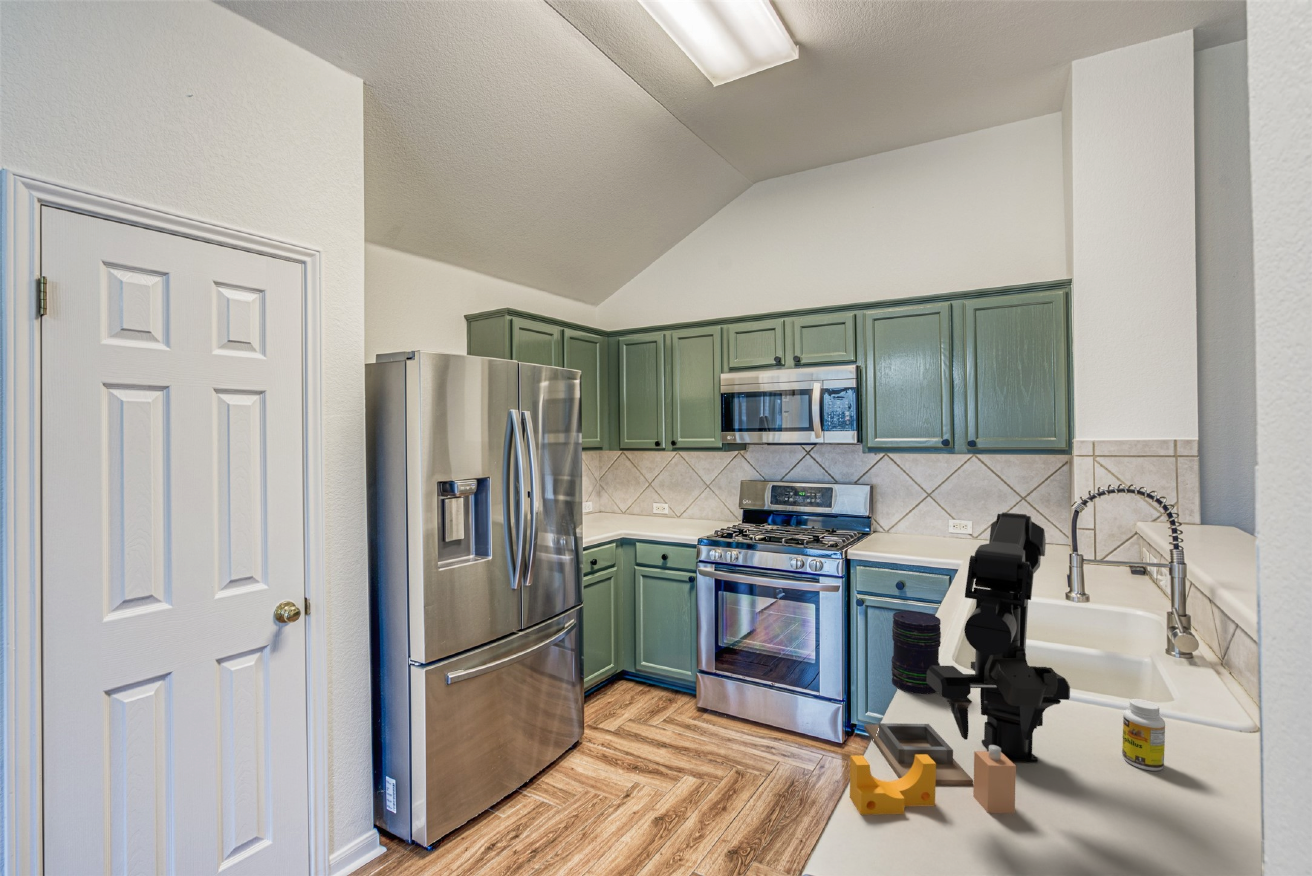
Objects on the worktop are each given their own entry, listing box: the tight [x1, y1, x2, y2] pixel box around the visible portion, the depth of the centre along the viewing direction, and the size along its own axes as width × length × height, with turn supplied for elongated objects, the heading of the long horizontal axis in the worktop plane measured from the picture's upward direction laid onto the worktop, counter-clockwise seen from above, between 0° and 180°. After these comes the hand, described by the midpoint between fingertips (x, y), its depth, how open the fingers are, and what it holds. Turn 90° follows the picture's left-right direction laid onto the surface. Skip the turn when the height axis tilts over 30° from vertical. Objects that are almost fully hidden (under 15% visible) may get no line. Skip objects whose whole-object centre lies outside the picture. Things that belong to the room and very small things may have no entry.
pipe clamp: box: [849, 754, 936, 816], centre depth 92 cm, size 12×4×6 cm, turn 93°
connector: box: [972, 745, 1017, 814], centre depth 92 cm, size 4×4×9 cm
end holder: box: [863, 722, 974, 786], centre depth 106 cm, size 11×18×3 cm, turn 0°
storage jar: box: [890, 610, 942, 696], centre depth 135 cm, size 10×10×15 cm
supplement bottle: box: [1121, 698, 1166, 772], centre depth 104 cm, size 6×6×10 cm
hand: (995, 738), depth 92 cm, fingers open, 9 cm apart
